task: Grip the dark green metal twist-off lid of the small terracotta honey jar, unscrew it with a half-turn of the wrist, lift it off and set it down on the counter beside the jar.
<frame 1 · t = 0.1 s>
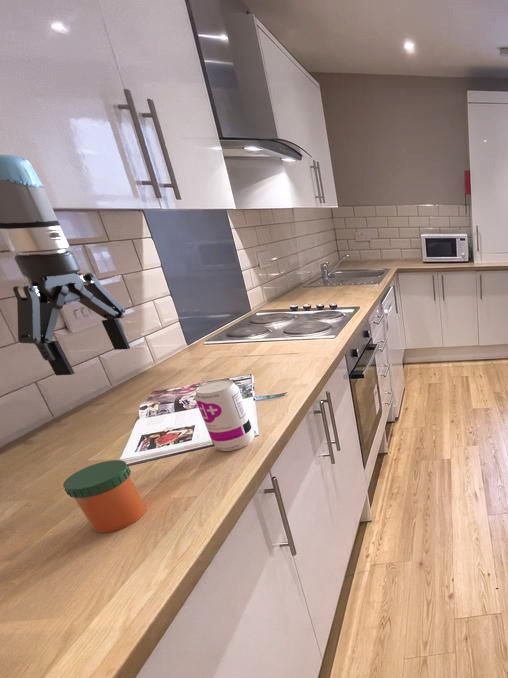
hand: (96, 360, 83), 23 cm above the counter, tool pointing down, fingers open, 13 cm apart
honey jar: (120, 517, 75), on the counter
honey lid: (96, 475, 71), point 10 cm above the counter, screwed on, not yet turned
supplement can: (235, 443, 97), on the counter
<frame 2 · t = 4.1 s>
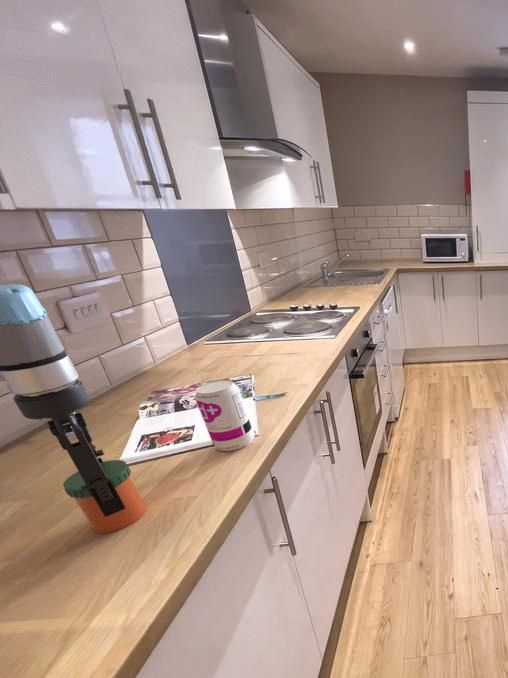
hand: (110, 500, 73), 4 cm above the counter, tool pointing down, fingers closed on honey lid, 8 cm apart
honey lid: (96, 475, 71), point 10 cm above the counter, screwed on, not yet turned, touching gripper
everything else where it was.
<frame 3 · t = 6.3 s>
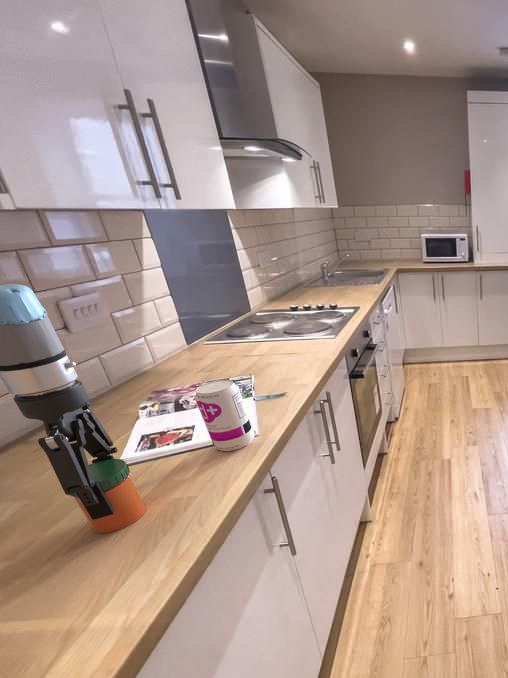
hand: (110, 500, 73), 4 cm above the counter, tool pointing down, fingers closed on honey lid, 8 cm apart
honey lid: (95, 474, 71), point 10 cm above the counter, off its thread, touching gripper
everything else where it was.
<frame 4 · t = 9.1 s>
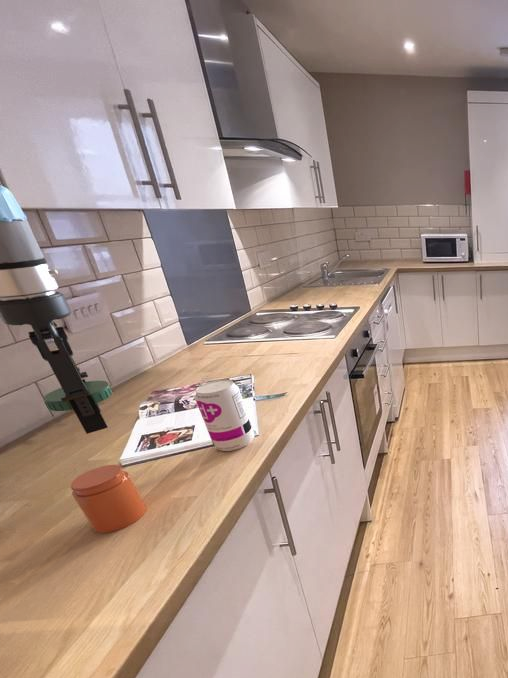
hand: (93, 421, 73), 17 cm above the counter, tool pointing down, fingers closed on honey lid, 8 cm apart
honey lid: (77, 392, 70), point 23 cm above the counter, off its thread, touching gripper
everything else where it was.
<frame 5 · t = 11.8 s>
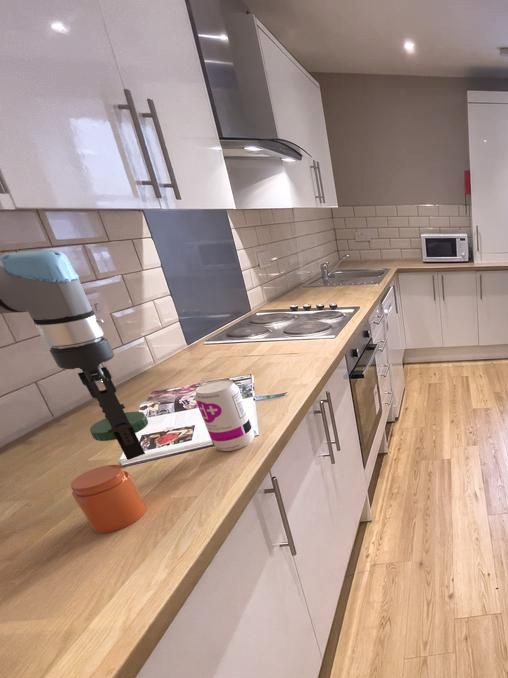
hand: (131, 448, 82), 7 cm above the counter, tool pointing down, fingers closed on honey lid, 8 cm apart
honey lid: (118, 423, 80), point 13 cm above the counter, off its thread, touching gripper
everything else where it was.
when the fingers open (2 cm above the counter, at t = 13.9 s): honey lid drops 6 cm, point 1 cm above the counter.
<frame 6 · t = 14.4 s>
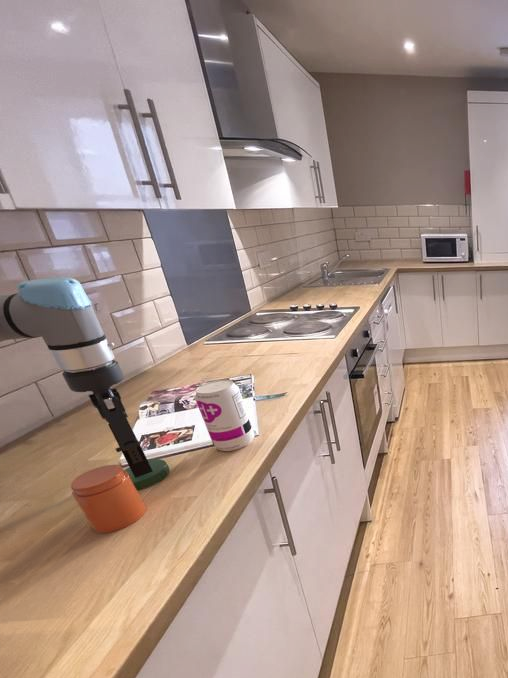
hand: (136, 460, 84), 4 cm above the counter, tool pointing down, fingers open, 13 cm apart
honey lid: (142, 472, 85), point 1 cm above the counter, off its thread
everything else where it was.
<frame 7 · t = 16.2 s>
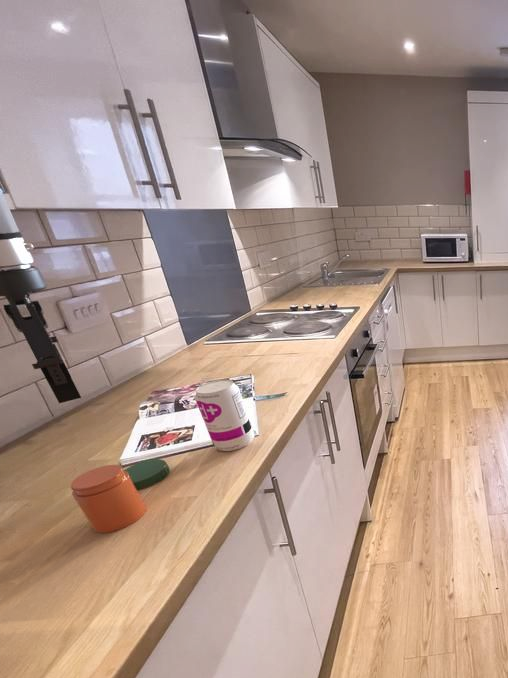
hand: (65, 388, 73), 22 cm above the counter, tool pointing down, fingers open, 13 cm apart
nothing on the counter moved.
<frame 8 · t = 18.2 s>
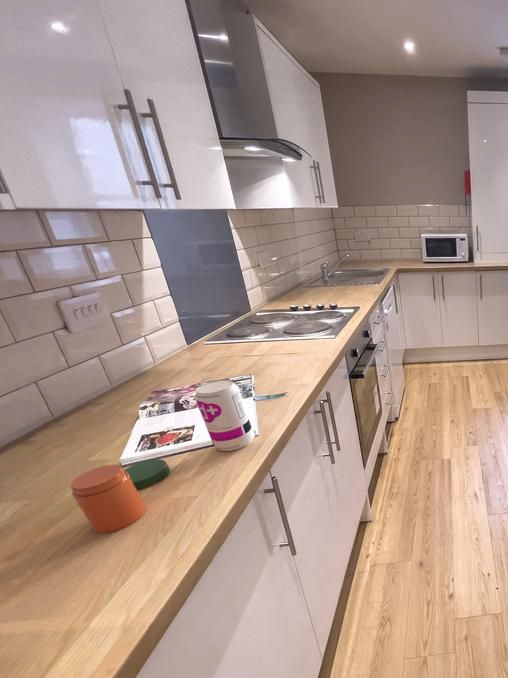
nothing on the counter moved.
at the end: honey lid came off its thread; honey lid point 1.5 cm above the counter; the gripper is holding nothing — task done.
